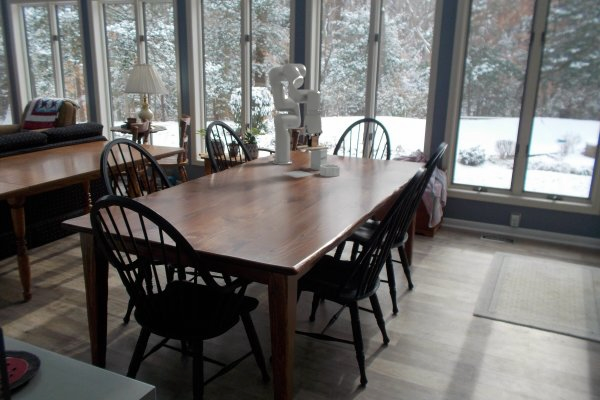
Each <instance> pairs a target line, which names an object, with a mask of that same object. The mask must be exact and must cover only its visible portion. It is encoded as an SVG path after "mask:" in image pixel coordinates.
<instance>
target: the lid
mask: <svg viewBox="0 0 600 400" xmlns="http://www.w3.org/2000/svg"><path fill="white" fill-rule="evenodd" d="M311 139H312V146H308V145H307V144H304V145H296V148H297V149H300V150H303V151H304V150H305V151H309V152H311V151H316V150H324V149H327V150H329V146H324V145H319V138H318V136H314V135H311ZM317 144H318V145H317Z"/></svg>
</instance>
